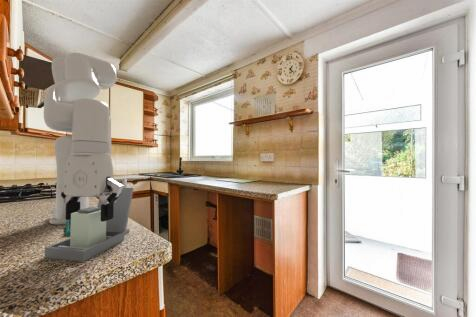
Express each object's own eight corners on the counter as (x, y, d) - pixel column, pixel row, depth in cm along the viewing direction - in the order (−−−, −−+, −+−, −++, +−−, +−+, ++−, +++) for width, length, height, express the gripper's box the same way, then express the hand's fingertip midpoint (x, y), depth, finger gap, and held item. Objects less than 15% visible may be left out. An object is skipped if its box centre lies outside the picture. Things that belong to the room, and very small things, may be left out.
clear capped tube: (116, 236, 58) (117, 179, 58) (122, 234, 60) (123, 178, 61) (123, 237, 58) (125, 179, 58) (129, 234, 60) (130, 178, 60)
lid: (101, 186, 59) (104, 187, 60) (92, 229, 56) (96, 229, 57) (132, 187, 57) (134, 188, 58) (124, 231, 54) (127, 231, 55)
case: (44, 261, 44) (44, 247, 44) (92, 240, 56) (92, 229, 56) (83, 265, 42) (83, 251, 42) (124, 242, 54) (124, 231, 54)
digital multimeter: (92, 223, 72) (92, 215, 72) (97, 235, 61) (97, 225, 61) (65, 227, 67) (65, 219, 67) (65, 241, 56) (65, 230, 56)
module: (69, 251, 47) (71, 210, 47) (88, 242, 52) (89, 206, 52) (88, 253, 46) (89, 212, 46) (105, 244, 51) (106, 207, 51)
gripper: (45, 149, 47) (43, 222, 46) (109, 148, 44) (108, 225, 44) (76, 151, 54) (74, 214, 54) (132, 150, 52) (131, 216, 51)
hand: (89, 219), depth 49 cm, fingers open, 9 cm apart
